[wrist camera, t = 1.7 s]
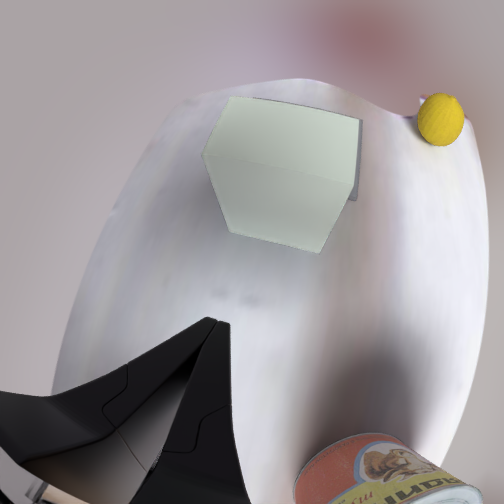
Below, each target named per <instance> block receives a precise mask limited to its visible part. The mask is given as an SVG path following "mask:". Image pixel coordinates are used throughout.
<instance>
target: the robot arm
mask: <svg viewBox="0 0 504 504" xmlns="http://www.w3.org/2000/svg"><path fill="white" fill-rule="evenodd" d="M231 404H232V398H231V339H230V324H229V323H227V322H223V321H218V320H216V319H214V318H210V317H205V318H203V319H201V320H200V321H198V322H196V323H195V324H193V325H191V326H190V327H188V328H186V329H185V330H183V331H181V332H180V333H178V334H176V335H175V336H173V337H171V338H170V339H168V340H166V341H165V342H163V343H161V344H159V345H158V346H156V347H154V348H153V349H151V350H149V351H147V352H146V353H144V354H142V355H141V356H139V357H137V358H135V359H134V360H132V361H130V362H128V364H125V365H123V366H121V367H119V368H118V369H116V370H114V371H112V372H110V373H108V374H106V375H104V376H102V377H100V378H98V379H95V380H93V381H91V382H88V383H86V384H83V385H81V386H78V387H76V388H73V389H71V390H68V391H65V392H63V393H60V394H57V395H53V396H44V397H39V396H31V395H23V394H16V393H10V392H4V391H0V504H251V502H250V499H249V497H248V494H247V491H246V488H245V484H244V480H243V476H242V472H241V467H240V463H239V458H238V454H237V449H236V444H235V438H234V432H233V421H232V405H231ZM163 445H164V447H163ZM162 447H163V449H162ZM161 449H162V453H161V455H160V457H159V460H158V462H157V464H156V466H155V468H154V469H152V468H151V466H152V464H153V463H154V461H155V459H156V457H157V456H158V454H159V452H160V450H161Z"/></svg>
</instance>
